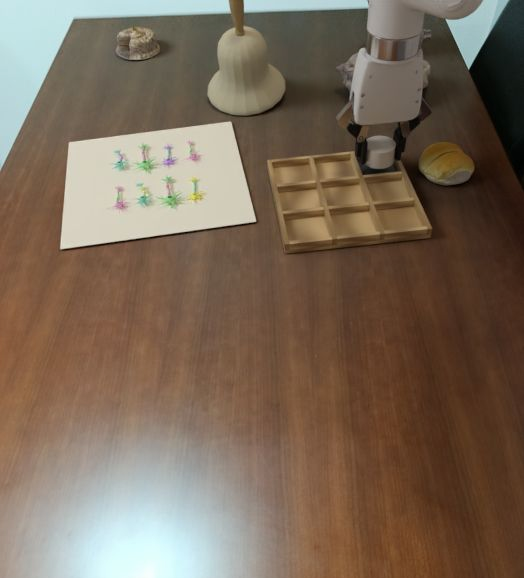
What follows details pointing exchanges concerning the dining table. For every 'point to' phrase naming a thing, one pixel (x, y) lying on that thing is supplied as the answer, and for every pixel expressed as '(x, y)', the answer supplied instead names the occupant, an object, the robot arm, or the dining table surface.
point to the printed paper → (153, 185)
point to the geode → (349, 67)
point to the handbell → (244, 70)
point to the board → (343, 203)
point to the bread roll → (445, 164)
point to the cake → (137, 44)
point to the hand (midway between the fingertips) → (378, 156)
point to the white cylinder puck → (380, 152)
